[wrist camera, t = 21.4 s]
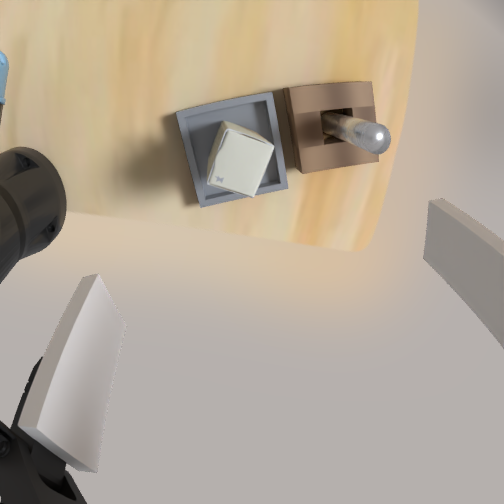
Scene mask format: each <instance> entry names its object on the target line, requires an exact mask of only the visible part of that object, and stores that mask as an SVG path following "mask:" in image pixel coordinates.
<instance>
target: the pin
mask: <svg viewBox="0 0 504 504" xmlns="http://www.w3.org/2000/svg"><path fill="white" fill-rule="evenodd" d="M321 124H322V131H323V132H325V133H327V134H330V135H332V136H334V137H337V138H339V139H341V140H344V141H346V142H348V143H350V144H353V145H355V146H357V147H359V148H362V149H364V150H366V151H368V152H370V153H372V154H382V153H384V152H385V151H386V150H387V149H388V147H389V145H390V142H391V136H390V133H389V131H388V129H387V128H386V127H385V126H384V125H381V124H378V123H374V122H371V121H367V120H363V119H359V118H355V117H351V116H346V115H342V114H338V113H333V112H327V113H324V114H323V115H322V116H321Z"/></svg>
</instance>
